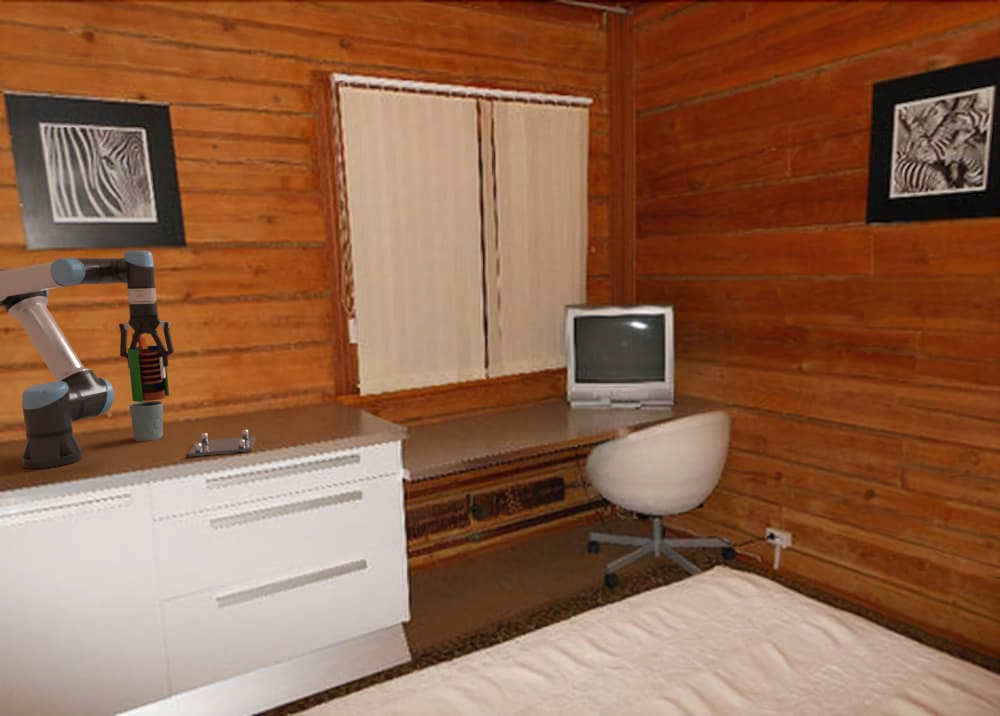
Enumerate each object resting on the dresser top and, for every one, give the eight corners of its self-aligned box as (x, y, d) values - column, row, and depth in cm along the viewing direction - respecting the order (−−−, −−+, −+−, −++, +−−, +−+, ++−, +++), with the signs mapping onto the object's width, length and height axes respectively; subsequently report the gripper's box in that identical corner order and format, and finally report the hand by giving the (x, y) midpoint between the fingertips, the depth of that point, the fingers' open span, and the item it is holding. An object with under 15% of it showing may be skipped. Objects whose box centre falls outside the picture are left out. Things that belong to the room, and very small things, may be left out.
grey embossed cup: (133, 437, 235) (129, 402, 233) (165, 433, 239) (162, 399, 238) (132, 443, 226) (129, 407, 224) (166, 439, 230) (163, 404, 229)
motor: (151, 402, 203) (143, 335, 200) (124, 401, 205) (116, 335, 202) (173, 395, 213) (166, 331, 210) (148, 395, 215) (141, 331, 212)
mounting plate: (188, 457, 207) (187, 445, 206) (196, 444, 222) (195, 433, 221) (251, 451, 211) (250, 440, 211) (255, 439, 227) (254, 428, 226)
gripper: (102, 304, 199) (109, 382, 202) (176, 302, 204) (183, 378, 208) (109, 303, 206) (116, 378, 209) (181, 301, 212) (187, 374, 215)
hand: (149, 378), depth 208 cm, fingers closed on motor, 7 cm apart
